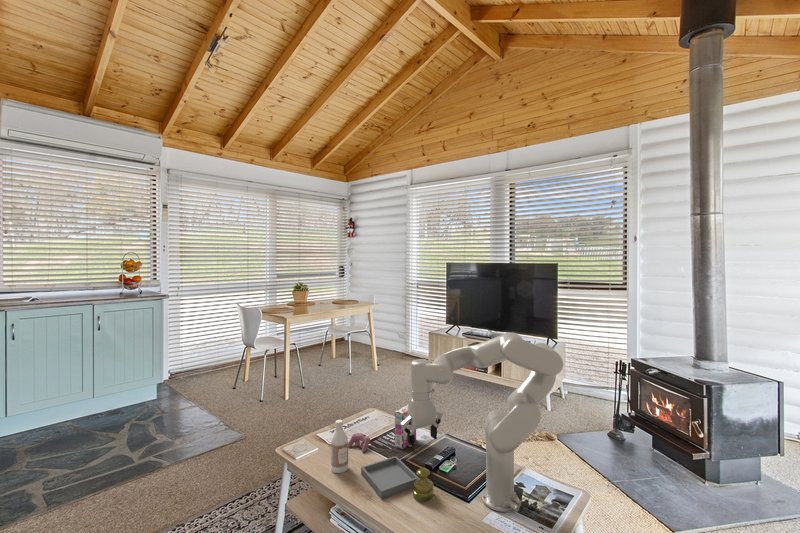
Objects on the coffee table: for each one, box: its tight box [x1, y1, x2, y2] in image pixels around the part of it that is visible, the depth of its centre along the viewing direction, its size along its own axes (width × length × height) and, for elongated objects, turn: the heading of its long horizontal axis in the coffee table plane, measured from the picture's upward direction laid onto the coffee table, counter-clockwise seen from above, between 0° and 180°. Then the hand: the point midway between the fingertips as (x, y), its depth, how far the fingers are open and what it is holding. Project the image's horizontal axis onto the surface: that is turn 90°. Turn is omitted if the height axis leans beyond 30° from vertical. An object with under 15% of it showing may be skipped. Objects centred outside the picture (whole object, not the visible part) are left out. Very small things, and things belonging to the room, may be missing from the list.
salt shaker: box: [412, 467, 435, 503], centre depth 136 cm, size 7×7×10 cm
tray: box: [360, 455, 420, 500], centre depth 146 cm, size 18×16×3 cm
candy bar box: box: [394, 404, 417, 450], centre depth 174 cm, size 11×5×16 cm, turn 144°
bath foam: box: [330, 419, 349, 474], centre depth 153 cm, size 7×7×20 cm
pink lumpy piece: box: [348, 432, 371, 453], centre depth 171 cm, size 10×5×7 cm, turn 58°
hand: (422, 441), depth 135 cm, fingers open, 9 cm apart
